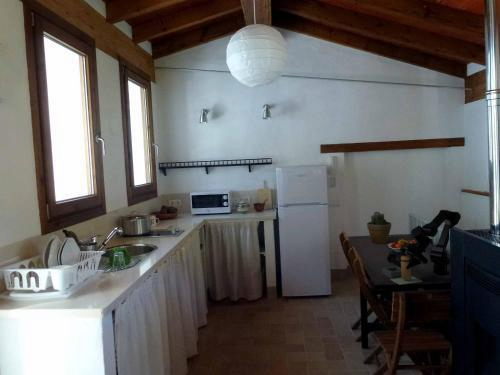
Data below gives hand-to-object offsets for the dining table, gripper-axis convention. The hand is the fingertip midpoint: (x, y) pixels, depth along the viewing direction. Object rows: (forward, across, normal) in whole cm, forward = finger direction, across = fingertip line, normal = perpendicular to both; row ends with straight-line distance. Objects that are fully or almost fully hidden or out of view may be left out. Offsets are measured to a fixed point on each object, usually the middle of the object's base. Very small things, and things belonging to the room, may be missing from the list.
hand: (403, 267), depth 213 cm
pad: (+5, 0, +7) cm, 9 cm away
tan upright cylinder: (+4, 0, +5) cm, 6 cm away
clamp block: (+5, -12, +7) cm, 15 cm away
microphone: (-3, -31, +16) cm, 35 cm away
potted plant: (-19, -89, +32) cm, 96 cm away
